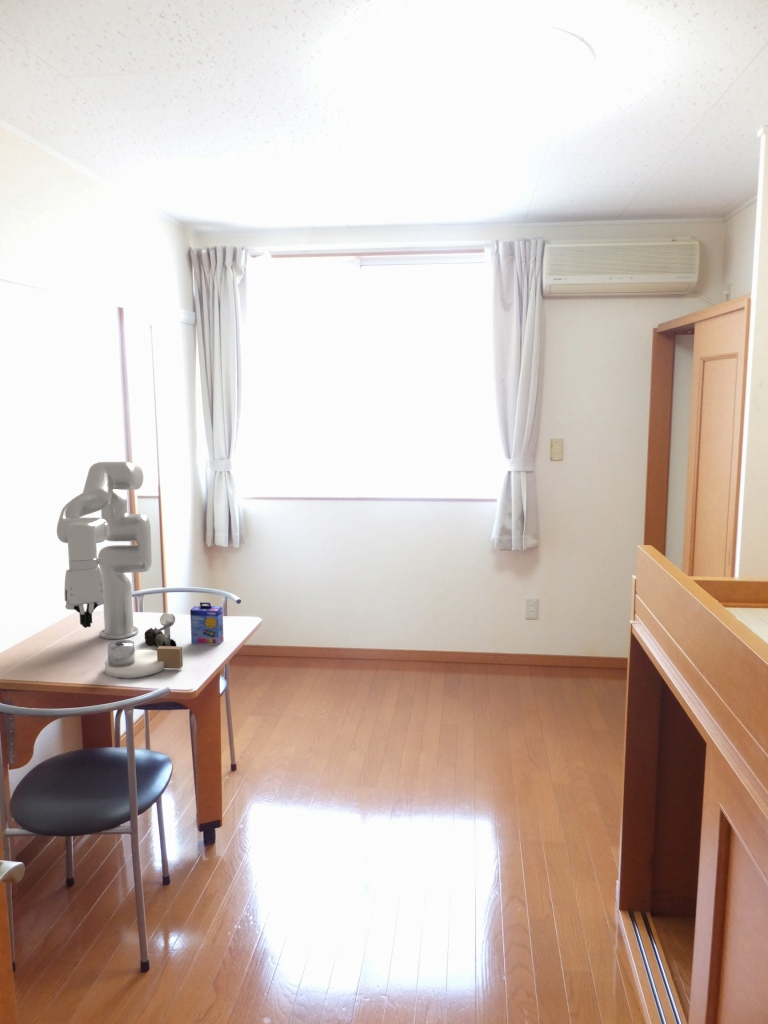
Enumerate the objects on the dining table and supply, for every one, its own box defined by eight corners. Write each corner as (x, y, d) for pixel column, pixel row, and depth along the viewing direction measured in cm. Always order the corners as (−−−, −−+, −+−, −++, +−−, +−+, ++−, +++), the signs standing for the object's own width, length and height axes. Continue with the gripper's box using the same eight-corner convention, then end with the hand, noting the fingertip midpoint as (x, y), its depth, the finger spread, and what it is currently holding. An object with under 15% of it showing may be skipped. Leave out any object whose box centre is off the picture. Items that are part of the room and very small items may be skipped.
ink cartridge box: (190, 644, 250) (189, 603, 248) (195, 639, 255) (194, 598, 253) (219, 645, 249) (217, 603, 247) (224, 640, 254) (222, 599, 252)
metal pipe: (177, 650, 243) (175, 634, 242) (156, 655, 239) (155, 638, 238) (160, 640, 257) (158, 624, 257) (140, 643, 254) (139, 627, 253)
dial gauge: (150, 655, 239) (148, 613, 237) (172, 650, 243) (170, 609, 242) (156, 659, 235) (154, 617, 233) (178, 654, 239) (177, 613, 237)
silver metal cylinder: (113, 669, 218) (112, 649, 217) (104, 662, 223) (103, 642, 223) (138, 663, 222) (137, 644, 221) (129, 657, 228) (129, 637, 227)
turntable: (94, 676, 218) (93, 656, 217) (119, 656, 236) (118, 637, 235) (171, 678, 217) (170, 657, 216) (190, 658, 235) (190, 638, 234)
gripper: (105, 559, 220) (108, 619, 223) (52, 565, 211) (55, 627, 214) (113, 563, 215) (116, 625, 217) (59, 570, 206) (62, 634, 208)
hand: (86, 626), depth 215 cm, fingers closed
